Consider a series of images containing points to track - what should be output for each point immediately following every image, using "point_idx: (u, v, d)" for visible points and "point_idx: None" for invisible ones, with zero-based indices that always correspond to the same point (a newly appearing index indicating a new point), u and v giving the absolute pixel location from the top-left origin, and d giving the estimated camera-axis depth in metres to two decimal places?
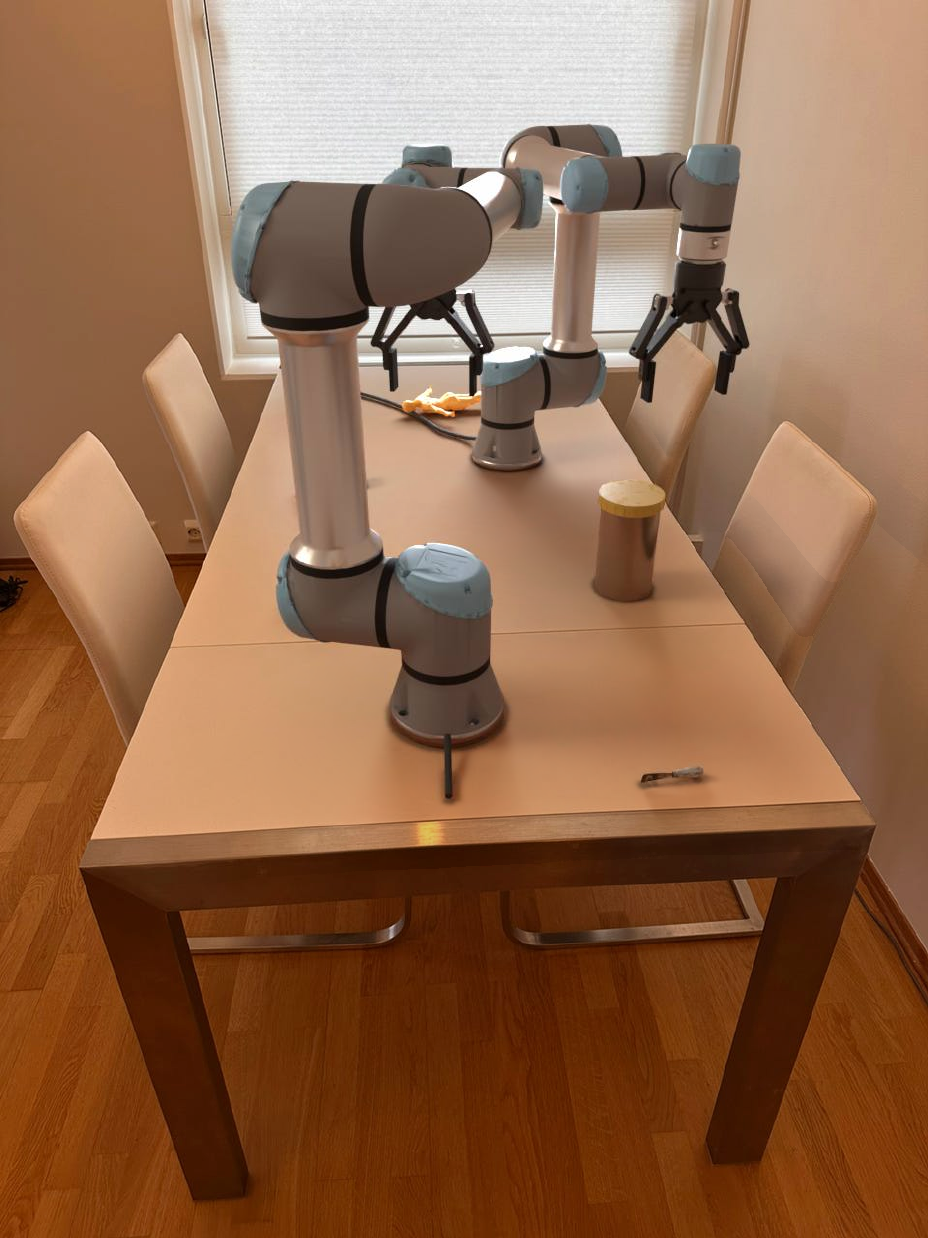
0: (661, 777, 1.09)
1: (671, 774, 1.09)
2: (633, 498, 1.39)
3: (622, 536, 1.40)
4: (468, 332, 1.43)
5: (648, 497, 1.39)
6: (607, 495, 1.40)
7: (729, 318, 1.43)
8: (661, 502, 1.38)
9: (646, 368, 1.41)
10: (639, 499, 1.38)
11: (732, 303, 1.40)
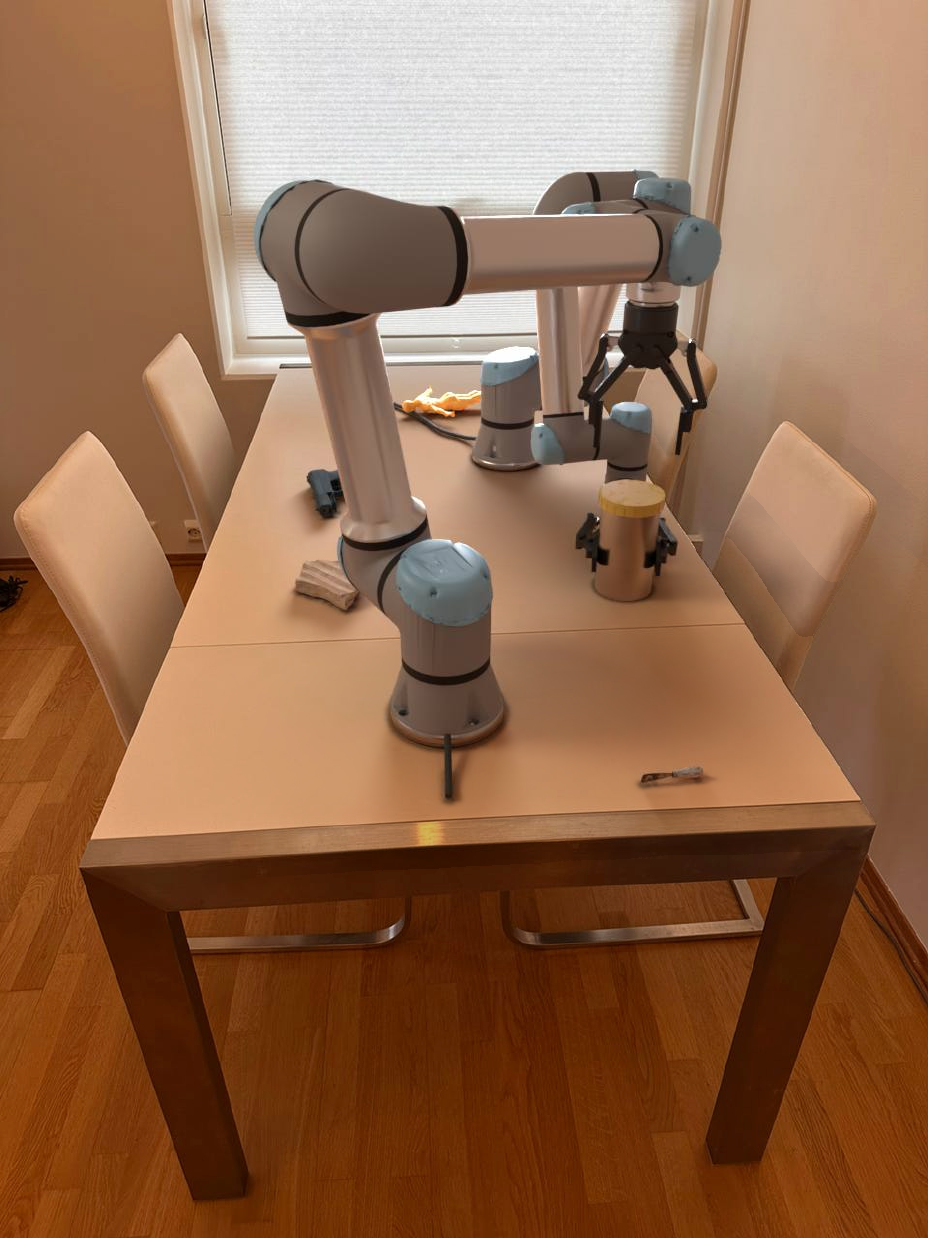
0: (661, 777, 1.09)
1: (671, 774, 1.09)
2: (633, 498, 1.39)
3: (622, 536, 1.40)
4: (605, 379, 1.33)
5: (648, 497, 1.39)
6: (607, 495, 1.40)
7: (590, 527, 1.53)
8: (661, 502, 1.38)
9: None
10: (639, 499, 1.38)
11: (592, 529, 1.57)
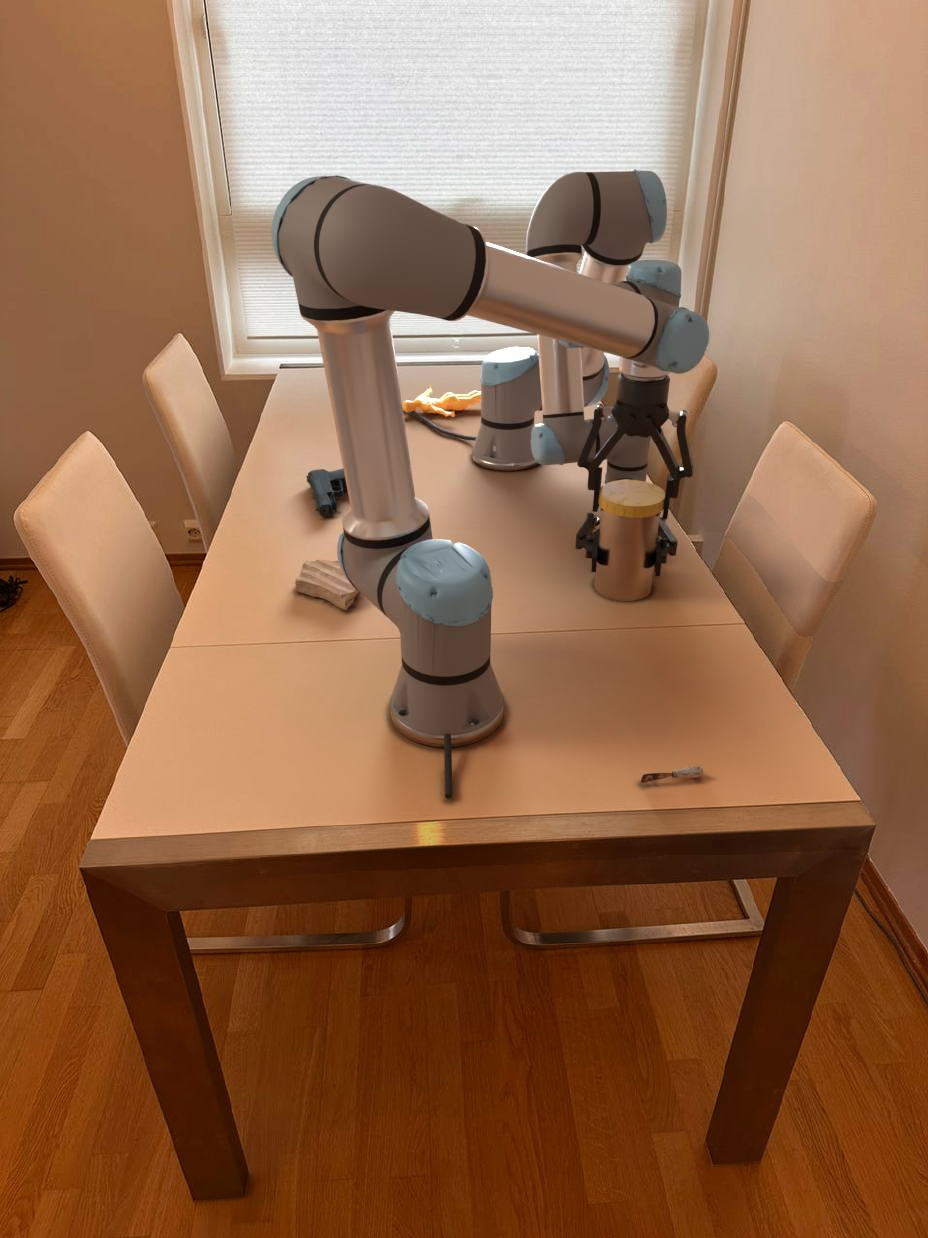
0: (661, 777, 1.09)
1: (671, 774, 1.09)
2: (633, 498, 1.39)
3: (622, 536, 1.40)
4: (602, 447, 1.38)
5: (648, 497, 1.39)
6: (607, 495, 1.40)
7: (590, 527, 1.53)
8: (661, 502, 1.38)
9: None
10: (639, 499, 1.38)
11: (592, 529, 1.57)
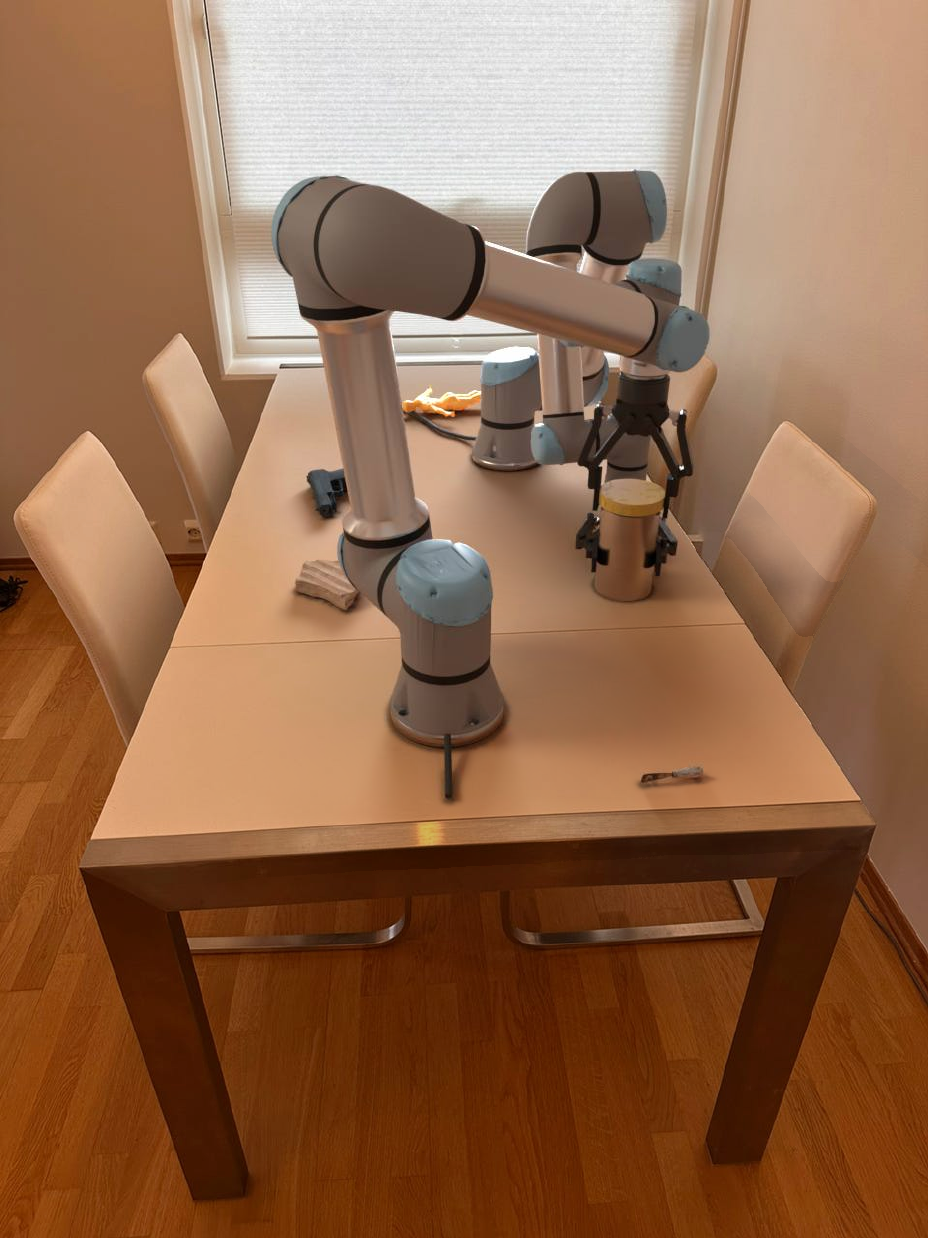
0: (661, 777, 1.09)
1: (671, 774, 1.09)
2: (642, 487, 1.42)
3: (622, 536, 1.40)
4: (602, 446, 1.38)
5: (628, 483, 1.43)
6: (657, 497, 1.39)
7: (590, 527, 1.53)
8: None
9: None
10: (639, 485, 1.42)
11: (592, 529, 1.57)
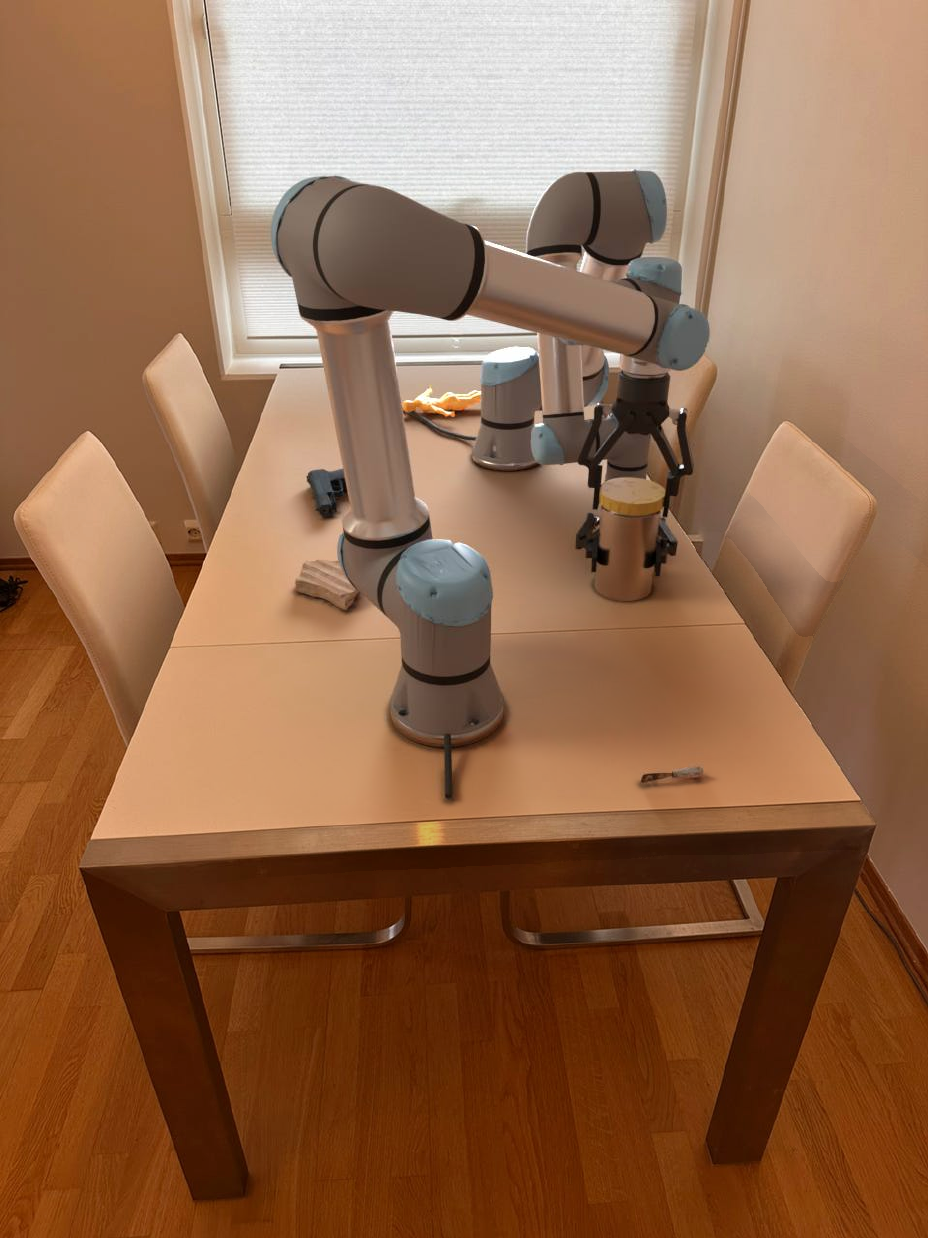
0: (661, 777, 1.09)
1: (671, 774, 1.09)
2: (618, 489, 1.41)
3: (622, 536, 1.40)
4: (602, 445, 1.38)
5: (621, 495, 1.39)
6: (624, 479, 1.44)
7: (590, 527, 1.53)
8: (613, 501, 1.37)
9: None
10: (615, 491, 1.40)
11: (592, 529, 1.57)
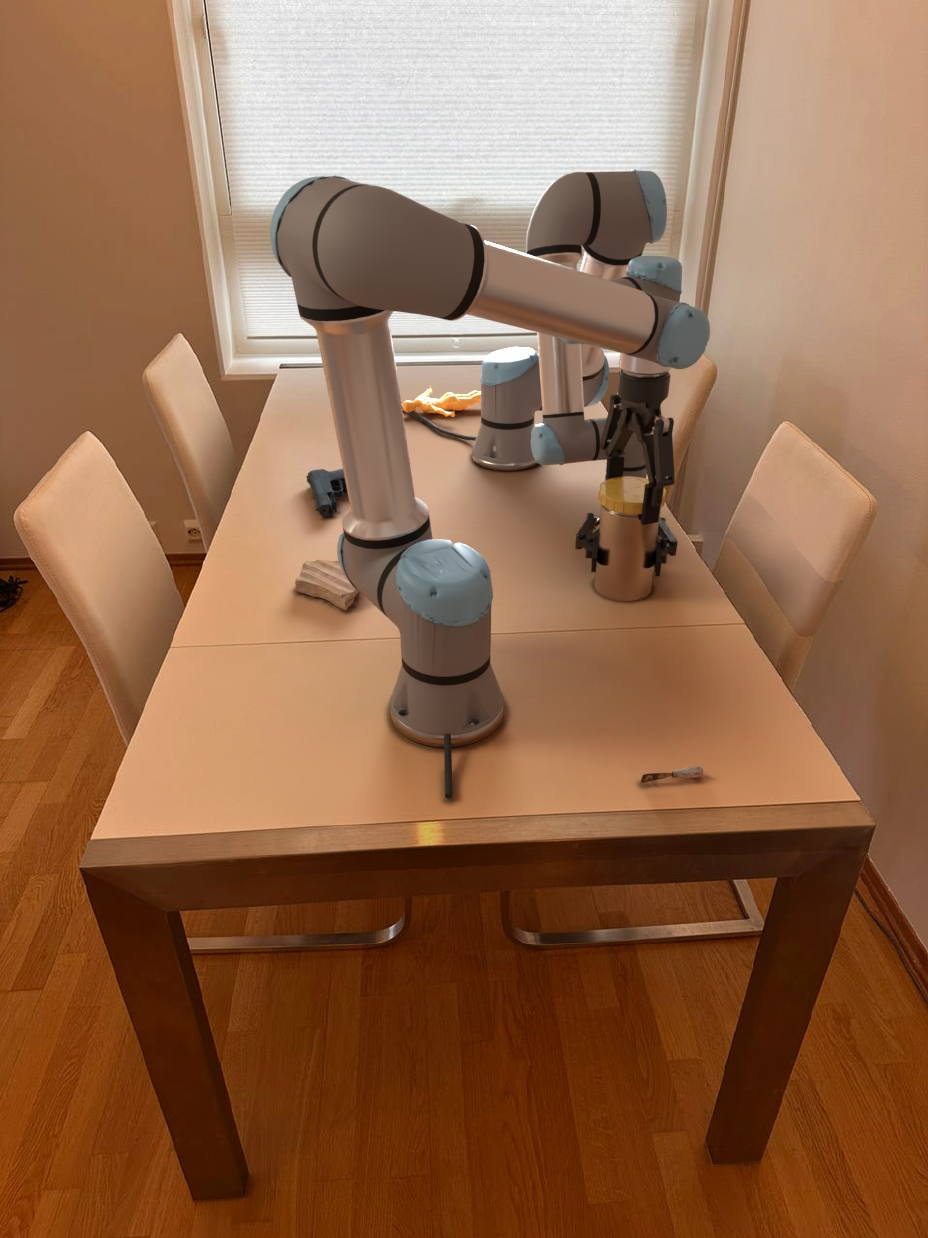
0: (661, 777, 1.09)
1: (671, 774, 1.09)
2: (641, 494, 1.39)
3: (622, 536, 1.40)
4: (654, 459, 1.32)
5: None
6: (617, 497, 1.38)
7: (590, 527, 1.53)
8: None
9: None
10: None
11: (592, 529, 1.57)
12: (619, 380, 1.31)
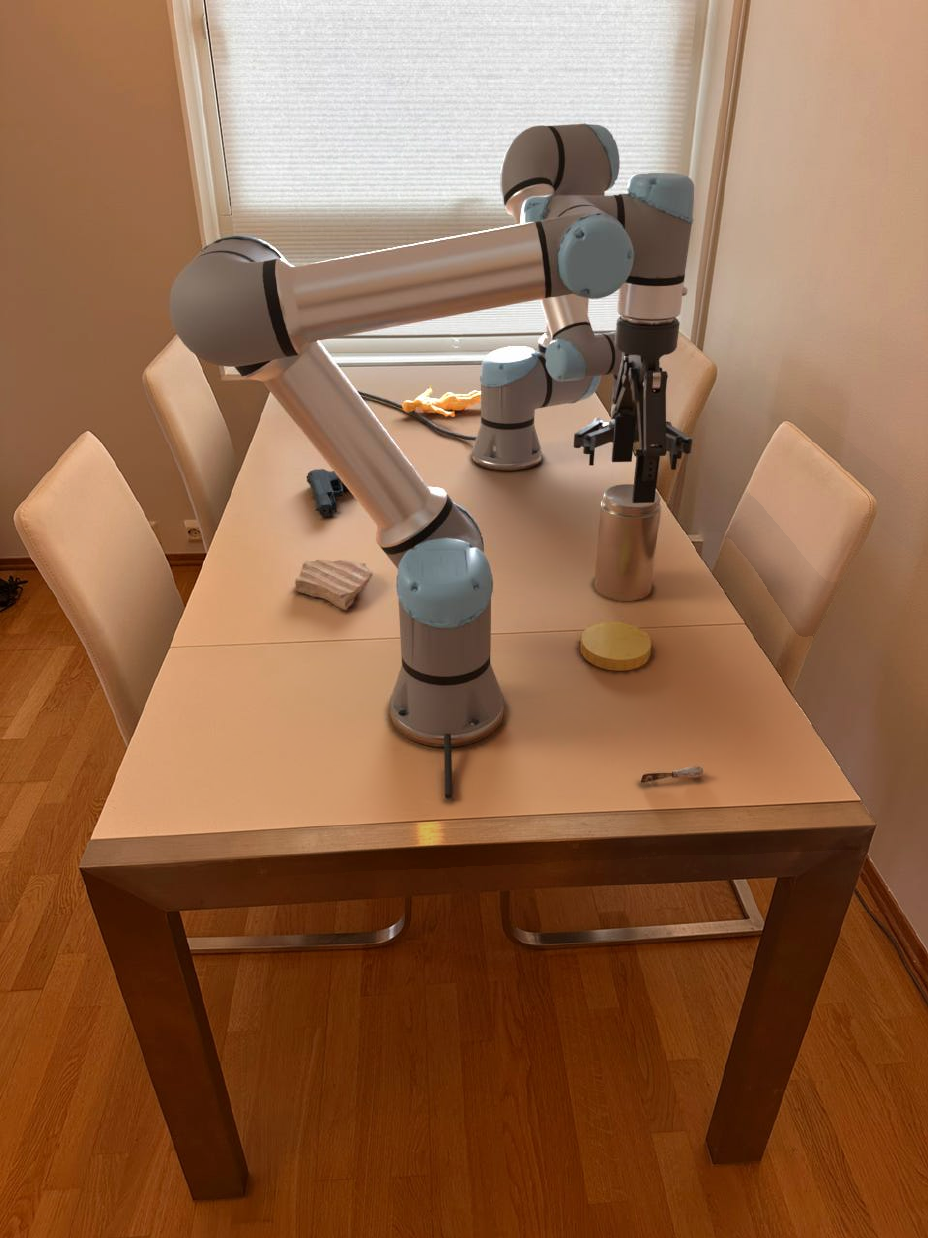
0: (661, 777, 1.09)
1: (671, 774, 1.09)
2: (620, 648, 1.31)
3: (622, 536, 1.40)
4: None
5: (634, 645, 1.31)
6: (592, 647, 1.31)
7: (593, 429, 1.59)
8: (649, 649, 1.31)
9: None
10: (627, 649, 1.30)
11: None
12: (616, 326, 1.09)
